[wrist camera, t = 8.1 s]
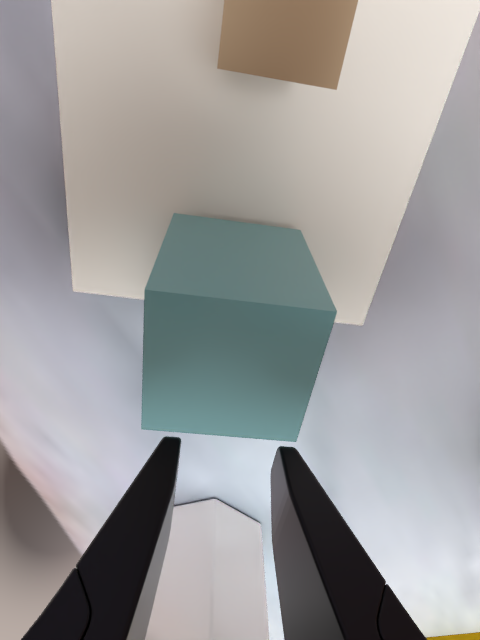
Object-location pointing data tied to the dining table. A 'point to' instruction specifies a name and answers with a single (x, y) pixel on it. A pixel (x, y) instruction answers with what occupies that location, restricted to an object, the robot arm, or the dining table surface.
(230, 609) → the jar
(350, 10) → the oak post
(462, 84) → the dining table surface
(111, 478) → the dining table surface
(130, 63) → the board
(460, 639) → the yellow pink arched block
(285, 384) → the teal block
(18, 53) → the dining table surface
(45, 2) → the dining table surface
